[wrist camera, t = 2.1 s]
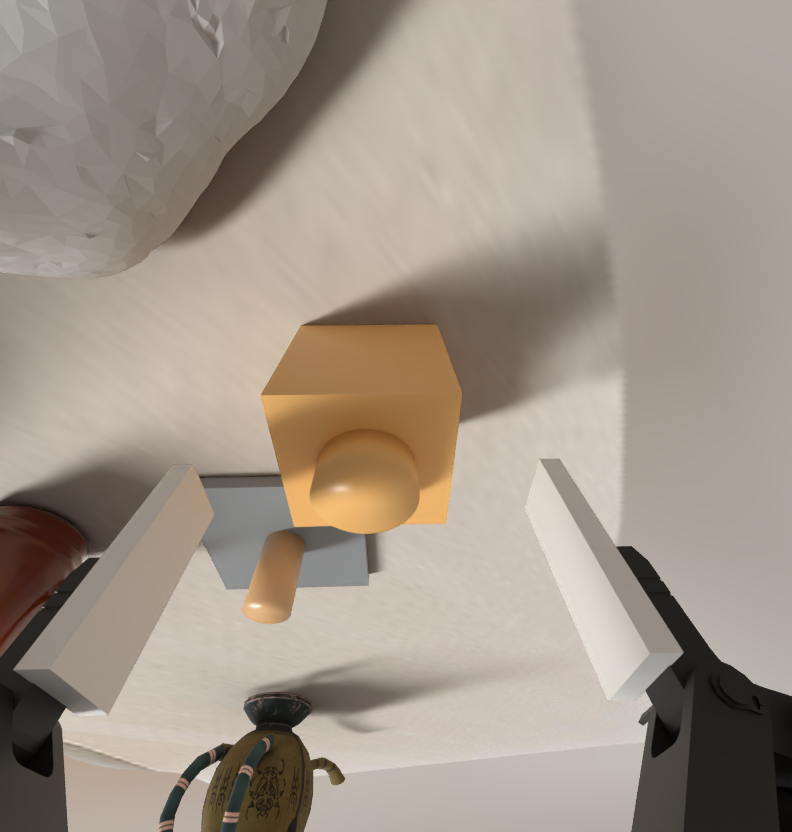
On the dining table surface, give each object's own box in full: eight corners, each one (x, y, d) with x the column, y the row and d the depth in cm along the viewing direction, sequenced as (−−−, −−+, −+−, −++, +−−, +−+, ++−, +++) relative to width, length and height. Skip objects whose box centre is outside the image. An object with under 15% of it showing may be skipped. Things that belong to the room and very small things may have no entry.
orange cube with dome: (301, 325, 18) (244, 422, 11) (437, 324, 18) (472, 418, 11) (318, 434, 22) (285, 558, 14) (429, 432, 22) (451, 554, 15)
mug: (-26, 547, 27) (-215, 716, 18) (-39, 473, 23) (-293, 649, 14) (142, 584, 30) (49, 741, 22) (158, 527, 26) (49, 693, 18)
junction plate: (183, 478, 23) (129, 558, 18) (361, 474, 24) (355, 552, 19) (231, 578, 30) (200, 656, 25) (368, 574, 30) (365, 651, 25)
